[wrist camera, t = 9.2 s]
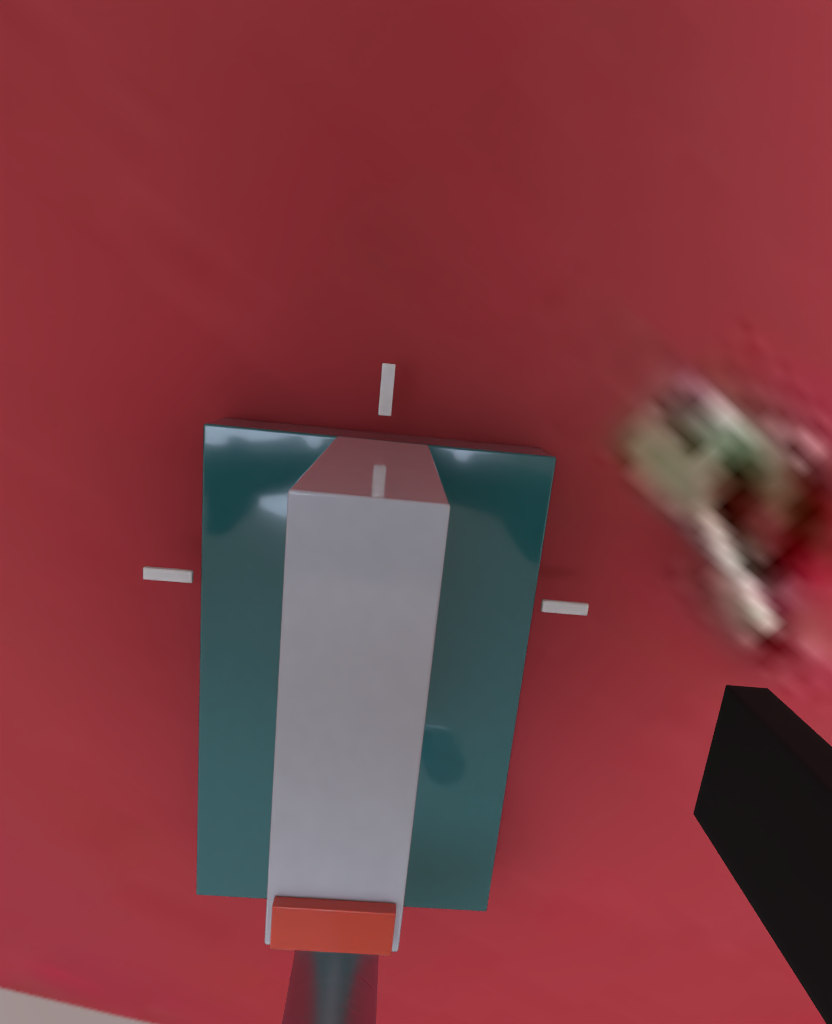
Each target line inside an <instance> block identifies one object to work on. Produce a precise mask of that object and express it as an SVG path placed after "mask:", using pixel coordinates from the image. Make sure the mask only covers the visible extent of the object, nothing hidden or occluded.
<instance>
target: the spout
mask: <svg viewBox="0 0 832 1024" xmlns="http://www.w3.org/2000/svg"><path fill="white" fill-rule="evenodd" d="M378 956H379V955H369V954H351V953H333V952H315V951H297V950H295V954H294V960H293V965H292V971H291V976H290V982H289V988H288V993H287V999H286V1004H285V1010H284V1015H283V1021H282V1024H376V1010H377V983H378Z"/></svg>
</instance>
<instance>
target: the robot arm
mask: <svg viewBox="0 0 832 1024" xmlns="http://www.w3.org/2000/svg"><path fill="white" fill-rule="evenodd" d="M694 815H695V817H696V819H697V820H698V822H699V823H700V825H701V826H702V828H703V830H704V831H705V833H706V834H707V836H708V838H709V839H710V841H711V842H712V844H713V845H714V847H715V849H716V850H717V852H718V853H719V855H720V856H721V858H722V860H723V861H724V863H725V864H726V866H727V867H728V869H729V871H730V872H731V874H732V875H733V877H734V879H735V880H736V882H737V883H738V885H739V886H740V888H741V890H742V891H743V893H744V894H745V896H746V897H747V899H748V901H749V902H750V904H751V905H752V907H753V908H754V910H755V912H756V913H757V915H758V916H759V918H760V920H761V921H762V923H763V924H764V926H765V927H766V929H767V931H768V932H769V934H770V935H771V937H772V938H773V940H774V942H775V943H776V945H777V946H778V948H779V949H780V951H781V953H782V954H783V956H784V957H785V959H786V961H787V962H788V964H789V965H790V967H791V968H792V970H793V972H794V973H795V975H796V976H797V978H798V979H799V981H800V983H801V984H802V986H803V987H804V989H805V990H806V992H807V994H808V995H809V997H810V998H811V1000H812V1002H813V1003H814V1005H815V1006H816V1008H817V1009H818V1011H819V1013H820V1014H821V1016H822V1017H823V1019H824V1020H825V1022H826V1024H832V747H831V746H830V745H829V744H828V743H827V742H826V741H825V740H824V739H823V738H821V737H820V736H819V735H818V734H817V733H816V732H815V731H814V730H813V729H812V728H810V727H809V726H808V725H807V724H806V723H805V722H804V721H803V720H802V719H801V718H800V717H798V716H797V715H796V714H795V713H794V712H793V711H792V710H791V709H790V708H789V707H787V706H786V705H785V704H784V703H783V702H782V701H781V700H780V699H779V698H778V697H776V696H775V695H774V694H773V693H772V692H771V691H770V690H769V689H768V688H756V687H744V686H731V685H726V688H725V692H724V696H723V700H722V704H721V708H720V712H719V716H718V720H717V723H716V727H715V731H714V735H713V739H712V743H711V747H710V751H709V755H708V759H707V763H706V767H705V771H704V775H703V778H702V782H701V786H700V790H699V794H698V798H697V802H696V806H695V810H694Z"/></svg>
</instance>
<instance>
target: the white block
mask: <svg viewBox="0 0 832 1024" xmlns="http://www.w3.org/2000/svg"><path fill="white" fill-rule="evenodd" d="M449 515H450V504H449V502H448V499H447V496H446V493H445V490H444V488H443V485H442V482H441V479H440V477H439V474H438V471H437V468H436V465H435V463H434V460H433V457H432V454H431V452H430V449H429V446H428V445H421V444H410V443H400V442H390V441H380V440H370V439H359V438H349V437H339V436H338V437H336V438H335V440H334V441H333V442H332V443H331V444H330V445H329V446H328V447H327V448H326V450H325V451H324V452H323V453H322V454H321V455H320V456H319V457H318V458H317V460H316V461H315V462H314V463H313V464H312V465H311V466H310V467H309V468H308V470H307V471H306V472H305V473H304V474H303V475H302V476H301V477H300V478H299V480H298V481H297V482H296V483H295V484H294V485H293V486H292V487H291V488H290V490H289V491H288V502H287V521H286V540H285V559H284V579H283V598H282V617H281V636H280V655H279V674H278V693H277V712H276V731H275V750H274V769H273V789H272V808H271V827H270V846H269V865H268V884H267V903H266V922H265V944H267V945H270V949H279V950H297V951H315V952H333V953H351V954H369V955H387V956H390V955H391V954H392V952H396V951H398V948H399V940H400V932H401V923H402V915H403V906H404V898H405V889H406V881H407V872H408V864H409V855H410V847H411V838H412V830H413V821H414V813H415V804H416V796H417V787H418V779H419V770H420V762H421V753H422V745H423V736H424V728H425V719H426V711H427V702H428V694H429V685H430V677H431V668H432V660H433V651H434V643H435V634H436V626H437V617H438V609H439V600H440V592H441V583H442V575H443V566H444V558H445V549H446V541H447V532H448V524H449Z"/></svg>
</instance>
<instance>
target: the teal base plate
mask: <svg viewBox="0 0 832 1024" xmlns="http://www.w3.org/2000/svg"><path fill="white" fill-rule="evenodd" d="M395 366H396V365H395V364H387V363H382V373H381V386H380V398H379V410H378V415H383V416H391V412H392V400H393V389H394V377H395ZM338 436H339V437H349V438H359V439H370V440H380V441H390V442H400V443H410V444H421V445H428V446H429V449H430V452H431V454H432V457H433V460H434V463H435V465H436V468H437V471H438V474H439V477H440V479H441V482H442V485H443V488H444V490H445V493H446V496H447V499H448V502H449V504H450V515H449V524H448V532H447V541H446V549H445V558H444V566H443V575H442V583H441V592H440V600H439V609H438V617H437V626H436V634H435V643H434V651H433V660H432V668H431V677H430V685H429V694H428V702H427V711H426V719H425V728H424V736H423V745H422V753H421V762H420V770H419V779H418V787H417V796H416V804H415V813H414V821H413V830H412V838H411V847H410V855H409V864H408V872H407V881H406V889H405V898H404V906H403V907H419V908H437V909H454V910H472V911H486V910H487V906H488V899H489V893H490V886H491V880H492V873H493V867H494V860H495V854H496V847H497V841H498V834H499V828H500V821H501V815H502V808H503V802H504V795H505V789H506V782H507V776H508V769H509V763H510V756H511V750H512V743H513V737H514V730H515V724H516V717H517V711H518V704H519V698H520V691H521V685H522V678H523V672H524V665H525V659H526V653H527V646H528V640H529V633H530V627H531V620H532V614H533V607H534V601H535V594H536V588H537V581H538V575H539V568H540V562H541V555H542V549H543V542H544V536H545V529H546V523H547V516H548V510H549V503H550V497H551V490H552V484H553V477H554V471H555V464H556V457H555V456H553V455H551V454H549V453H548V452H546V451H544V450H542V449H541V448H536V447H526V446H515V445H505V444H494V443H484V442H474V441H463V440H453V439H442V438H432V437H421V436H411V435H400V434H390V433H379V432H369V431H359V430H348V429H338V428H327V427H317V426H306V425H296V424H285V423H275V422H264V421H254V420H243V419H233V418H223V419H219V420H216V421H212V422H209V423H205V424H204V426H203V491H202V556H201V621H200V686H199V751H198V816H197V882H196V893H197V894H198V895H211V896H228V897H245V898H263V899H267V884H268V865H269V846H270V827H271V808H272V789H273V769H274V750H275V731H276V712H277V693H278V674H279V655H280V636H281V617H282V598H283V579H284V559H285V540H286V521H287V502H288V491H289V490H290V488H291V487H292V486H293V485H294V484H295V483H296V482H297V481H298V480H299V478H300V477H301V476H302V475H303V474H304V473H305V472H306V471H307V470H308V468H309V467H310V466H311V465H312V464H313V463H314V462H315V461H316V460H317V458H318V457H319V456H320V455H321V454H322V453H323V452H324V451H325V450H326V448H327V447H328V446H329V445H330V444H331V443H332V442H333V441H334V440H335V438H336V437H338ZM143 579H148V580H160V581H172V582H185V583H192V582H193V570H186V569H174V568H162V567H150V566H145V567H143ZM588 607H589V604H588V603H582V602H570V601H558V600H546V599H542V604H541V611H542V612H549V613H562V614H574V615H586V616H587V613H588Z"/></svg>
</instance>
